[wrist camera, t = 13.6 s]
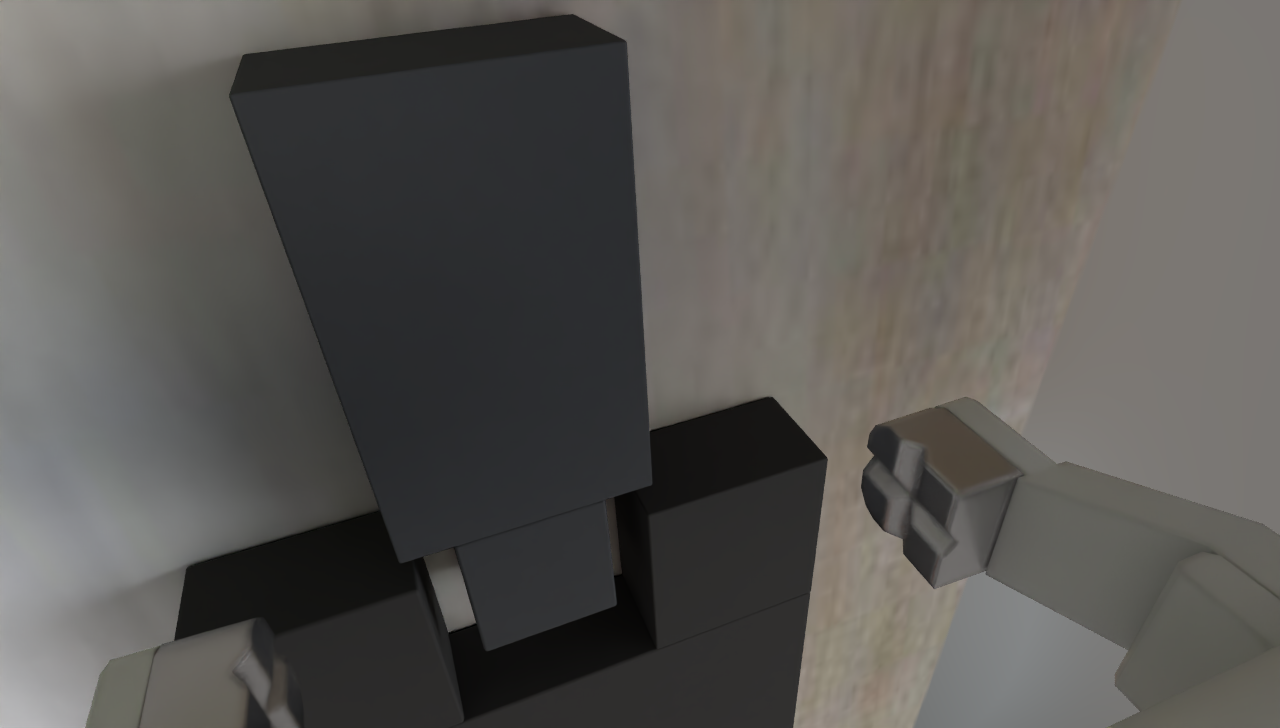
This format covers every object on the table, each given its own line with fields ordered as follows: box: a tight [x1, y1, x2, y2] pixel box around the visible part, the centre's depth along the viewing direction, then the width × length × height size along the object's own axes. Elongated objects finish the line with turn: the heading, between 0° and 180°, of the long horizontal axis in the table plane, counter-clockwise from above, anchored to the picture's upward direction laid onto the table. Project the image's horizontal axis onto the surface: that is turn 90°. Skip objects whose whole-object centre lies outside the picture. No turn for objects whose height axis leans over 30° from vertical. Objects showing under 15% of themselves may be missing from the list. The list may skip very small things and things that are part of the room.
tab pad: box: [229, 14, 652, 651], centre depth 16 cm, size 6×14×3 cm, turn 3°
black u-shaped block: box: [174, 397, 828, 728], centre depth 22 cm, size 16×14×3 cm
